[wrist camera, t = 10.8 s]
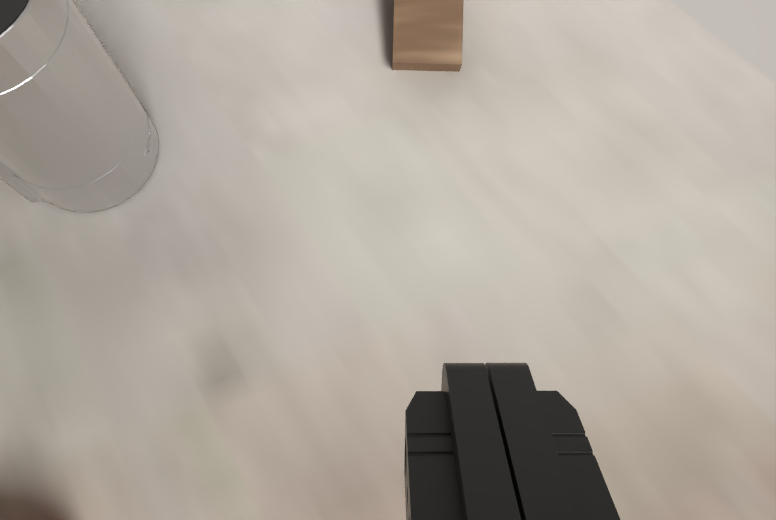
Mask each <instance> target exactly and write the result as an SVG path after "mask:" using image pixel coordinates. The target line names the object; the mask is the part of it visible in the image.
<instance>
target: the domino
mask: <svg viewBox="0 0 776 520" xmlns="http://www.w3.org/2000/svg"><path fill="white" fill-rule="evenodd" d="M462 34H463V0H394V24H393V70H419V71H460V68H461V65H462Z"/></svg>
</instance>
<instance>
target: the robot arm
mask: <svg viewBox="0 0 776 520" xmlns="http://www.w3.org/2000/svg"><path fill="white" fill-rule="evenodd" d="M158 149H159V141H158V136H157V131H156V129H155V127H154V125H153V122H152V120H151V119H150V117H149V116H148V114H147V112H146V110H145V109H144V107H143V105H142V104H141V102H139V101H138V99H137V98H136V96H135V95H134V93H133V91H132V90H131V88H130V87H129V85H128V84H127V82H126V81H125V79H124V78H123V76H122V75H121V73H120V72H119V70H118V69H117V67H116V66H115V64H114V63H113V61H112V60H111V58H110V57H109V55H108V54H107V52H106V51H105V49H104V48H103V46H102V45H101V43H100V42H99V40H98V39H97V37H96V36H95V34H94V33H93V31H92V30H91V28H90V27H89V25H88V24H87V22H86V21H85V19H84V18H83V16H82V15H81V13H80V11H79V10H78V8H77V7H76V5H75V4H74V2H73V1H72V0H0V179H2V180H3V181H4V182H6V183H7V184H8V185H9V186H11V187H12V188H13V189H15V190H16V191H17V192H19V193H20V194H21V195H23V196H24V197H25V198H27V199H28V200H29V201H31V202H33V201H40V200H42V201H48V202H50V203H52V204H54V205H56V206H58V207H60V208H62V209H66V210H70V211H74V212H93V211H100V210H104V209H107V208H110V207H113V206H116V205H118V204H120V203H122V202H123V201H125V200H127V199H129V198H130V197H131V196H132V195H134V194H135V193H136V192H137V191H138V190H140V189H141V187H142V186H143V185H144V184H145V182H146V181H147V180H148V179H149V177H150V175H151V173H152V171H153V169H154V167H155V164H156V161H157V157H158ZM404 475H405V497H406V520H620V518H619V515H618V513H617V510H616V508H615V505H614V503H613V500H612V498H611V495H610V493H609V490H608V488H607V485H606V483H605V480H604V478H603V475H602V473H601V470H600V468H599V466H598V463H597V461H596V458H595V456H594V455H593V453H592V448H591V446H590V443H589V441H588V438H587V437H585V431H584V428H583V426H582V423H581V421H580V418H579V416H578V413H577V411H576V409H575V408H574V407H573V406H572V405H571V404H570V403H569V402H568V401H567V400H566V399H565V398H564V397H563V396H562V395H561V394H560V393H559V392H558V391H536V388H535V385H534V382H533V379H532V376H531V373H530V370H529V367H528V365H527V364H526V363H486V364H485V365H484V363H444V364H443V371H442V390H441V391H416V393H415V395H414V397H413V398H412V400H411V402H410V404H409V406H408V407H407V409H406V419H405V470H404Z"/></svg>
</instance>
